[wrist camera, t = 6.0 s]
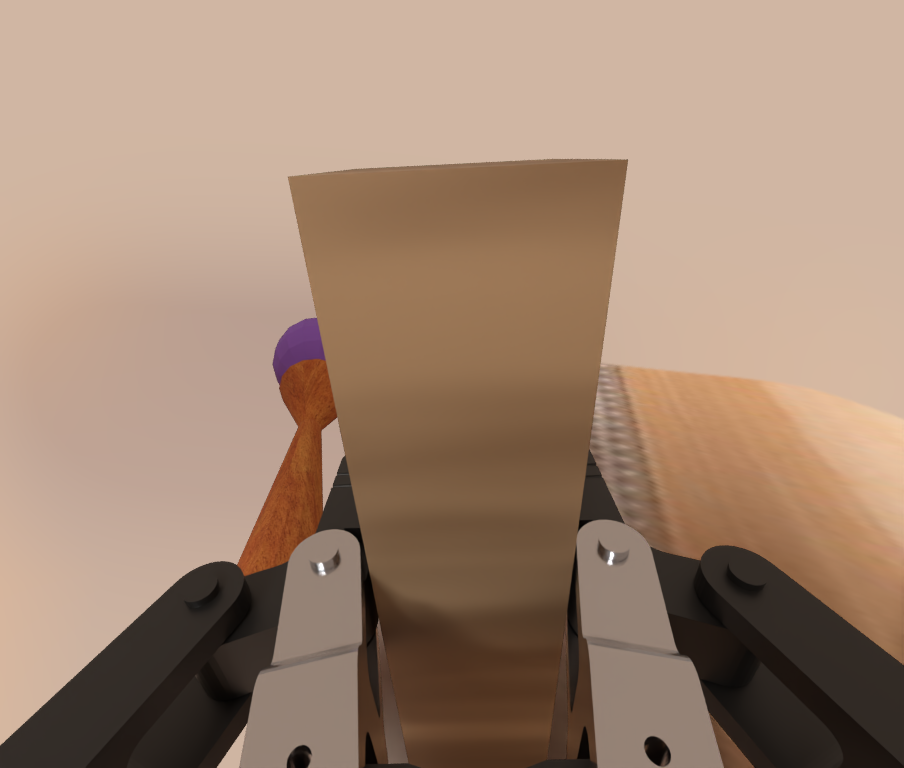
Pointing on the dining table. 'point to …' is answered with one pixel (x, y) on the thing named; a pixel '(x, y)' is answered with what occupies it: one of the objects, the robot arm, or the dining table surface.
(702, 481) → the dining table surface
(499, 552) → the wooden block
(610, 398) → the dining table surface
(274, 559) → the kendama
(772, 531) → the dining table surface
